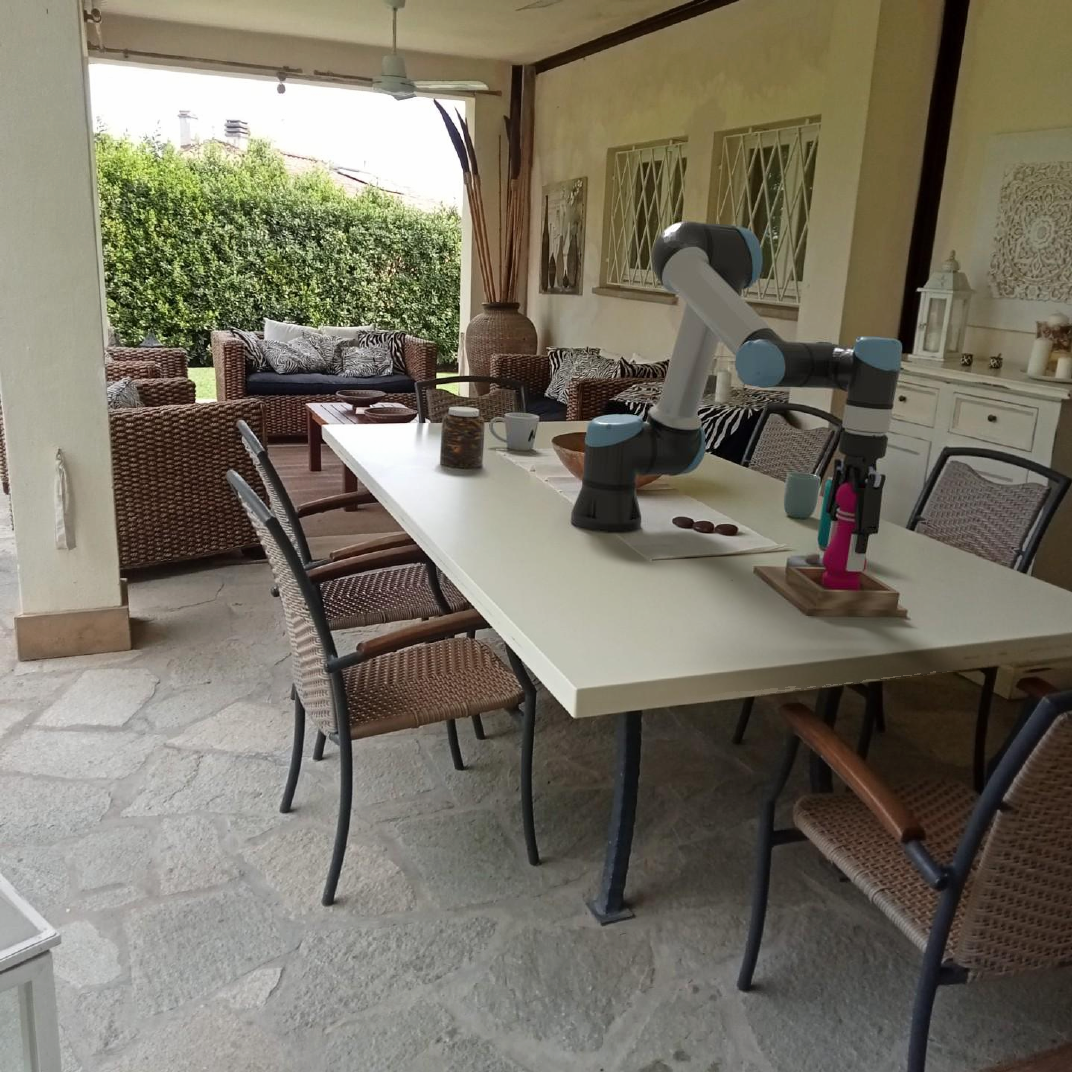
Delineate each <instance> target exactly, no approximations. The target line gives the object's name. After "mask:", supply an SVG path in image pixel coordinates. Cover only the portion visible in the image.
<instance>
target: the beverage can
mask: <svg viewBox="0 0 1072 1072" xmlns="http://www.w3.org/2000/svg"><path fill="white" fill-rule="evenodd" d="M832 478H833V475H832V476H828V477H827V481H826V483H825V485H824V486H825V487H824V492H823V499H822V504H821V505H822V506H821V511H820V520H819V524H818V525H819V526H818V532H817V539H816V540H817V544H818V547H819V549H821V550H823V551H825V550H826V548H827V546H828V539H829V533H830V526H831V521H832V520H831V519H830V514H827V513H826V506H827V502H828V497H829V492H830V488H831V483H832ZM832 507H833V506H832Z"/></svg>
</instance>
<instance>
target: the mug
mask: <svg viewBox="0 0 1072 1072" xmlns="http://www.w3.org/2000/svg"><path fill="white" fill-rule="evenodd" d="M539 421H540V416H539V415H536V414H533V413H528V412H527V413H526V412H508V413H505V414H504V417H501V416H496V417H493V418H492V419H491V420H490V422H489V423H488V427H489V431H490V433H491V434H492V436H493V437H494V438H495V439H497V440H498V441H500V442H503V443H505V444H506V446H507V448H508V449H510V450H513V449H517V450H516V451H530V450H529V449H531V450H533V449H534V443H535V439H536V435H537V430H538V428H539V427H538V425H539ZM496 422H502V423H504V424H505V435H506V436H505V437H506V438H504V437H502V436H500V435H499V434H498V433H497V432H496V431H495V430H494V423H496Z"/></svg>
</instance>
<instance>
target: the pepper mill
mask: <svg viewBox="0 0 1072 1072" xmlns="http://www.w3.org/2000/svg"><path fill="white" fill-rule="evenodd" d="M861 489H865V488H861ZM836 501H837V503H838V505H839V507H840V508H838V509H837V514H836V517H837V518H838V526H837V530H836V533H835V535H834V537H833V539H832V541H831V542H830V544H829V545H828V547H827V548H826V550H824V553H823V556H822V558H823V559H822V563H823V565H824V567H825V569H826V570H827V572H825V573H824V574H823V579H822V584H823V585H824V586H825V587H827V588H829V589H833V590H859V587H860V578H859V577H858V575H860V574H861V573H862V572H861V571H847V570H846V567H847V561H848V554H849V548H850V542H851V536H852V533H851V531H854V530H855V501H856V494H855V493H853V492H852V483H850V482H847V483H844V484H843V485H841V486H840V487H839V489H838V491H837V494H836ZM866 567H867V555H866V556H865V562H864V568H863V571H866Z"/></svg>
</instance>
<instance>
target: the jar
mask: <svg viewBox="0 0 1072 1072" xmlns="http://www.w3.org/2000/svg"><path fill="white" fill-rule="evenodd" d="M484 443H485V418H484V417H482V416H480V409H478V408H476V407H470V406H468V407H467V406H449V408H448V413H447V414H444V415H443V417H442V420H441V435H440V450H439V451H440V456H439V464H440V465H442V466H444V467H449V468H455V469H477V468H481V467H482V466H483V459H484V447H485V446H484Z"/></svg>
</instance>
